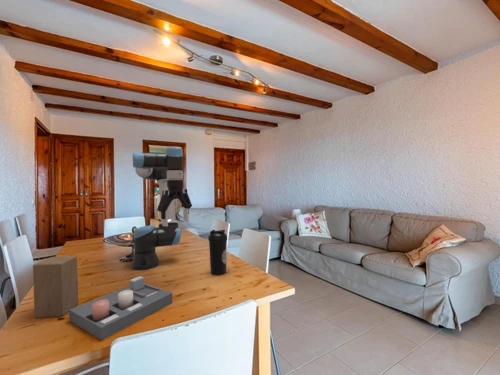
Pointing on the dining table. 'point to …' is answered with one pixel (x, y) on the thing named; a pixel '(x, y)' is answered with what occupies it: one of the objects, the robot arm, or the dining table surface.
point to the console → (120, 311)
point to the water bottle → (218, 252)
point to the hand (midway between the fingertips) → (176, 223)
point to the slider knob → (137, 283)
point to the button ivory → (125, 299)
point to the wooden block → (55, 286)
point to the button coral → (100, 310)
